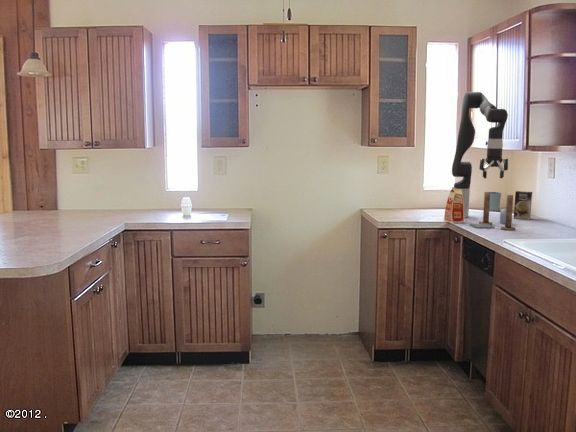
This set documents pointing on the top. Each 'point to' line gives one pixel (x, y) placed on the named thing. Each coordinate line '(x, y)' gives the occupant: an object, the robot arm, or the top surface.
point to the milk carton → (455, 207)
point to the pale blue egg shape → (502, 216)
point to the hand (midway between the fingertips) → (492, 178)
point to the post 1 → (486, 209)
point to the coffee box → (522, 205)
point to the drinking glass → (495, 201)
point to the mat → (482, 226)
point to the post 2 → (509, 214)
